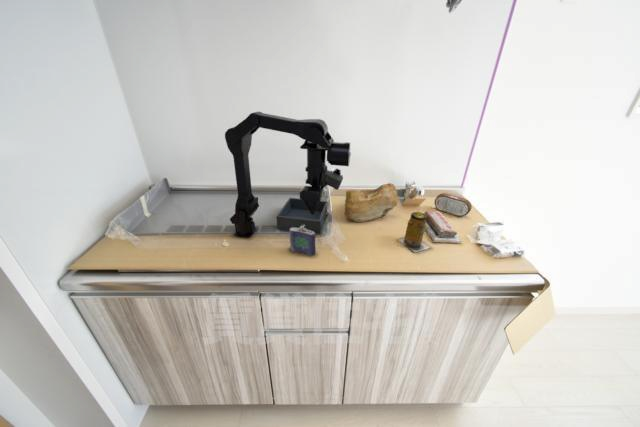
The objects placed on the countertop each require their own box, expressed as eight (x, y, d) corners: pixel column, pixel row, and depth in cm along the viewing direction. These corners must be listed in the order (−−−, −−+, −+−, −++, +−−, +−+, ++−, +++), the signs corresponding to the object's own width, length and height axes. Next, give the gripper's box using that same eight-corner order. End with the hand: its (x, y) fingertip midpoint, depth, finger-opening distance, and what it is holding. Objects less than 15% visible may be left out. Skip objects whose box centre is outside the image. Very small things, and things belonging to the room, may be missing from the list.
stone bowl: (382, 205, 118) (384, 175, 112) (399, 219, 104) (403, 186, 97) (336, 210, 114) (336, 180, 108) (347, 226, 100) (348, 192, 93)
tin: (468, 217, 108) (474, 200, 104) (466, 219, 106) (472, 202, 101) (433, 206, 116) (438, 190, 112) (431, 208, 114) (436, 192, 110)
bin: (277, 228, 97) (276, 216, 94) (290, 208, 112) (289, 197, 109) (320, 234, 94) (320, 221, 91) (327, 212, 109) (327, 201, 106)
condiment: (412, 236, 94) (419, 208, 88) (429, 248, 87) (438, 219, 81) (398, 240, 91) (404, 212, 85) (414, 253, 84) (422, 224, 78)
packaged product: (420, 209, 103) (443, 209, 103) (417, 218, 106) (440, 219, 105) (437, 232, 88) (464, 233, 87) (433, 243, 90) (460, 243, 90)
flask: (289, 251, 84) (287, 225, 79) (292, 246, 87) (291, 221, 81) (314, 257, 82) (314, 230, 76) (316, 252, 84) (317, 226, 79)
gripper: (338, 175, 65) (335, 224, 73) (345, 157, 81) (342, 198, 89) (298, 172, 67) (299, 220, 75) (313, 154, 83) (312, 195, 91)
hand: (315, 207), depth 82 cm, fingers open, 9 cm apart
